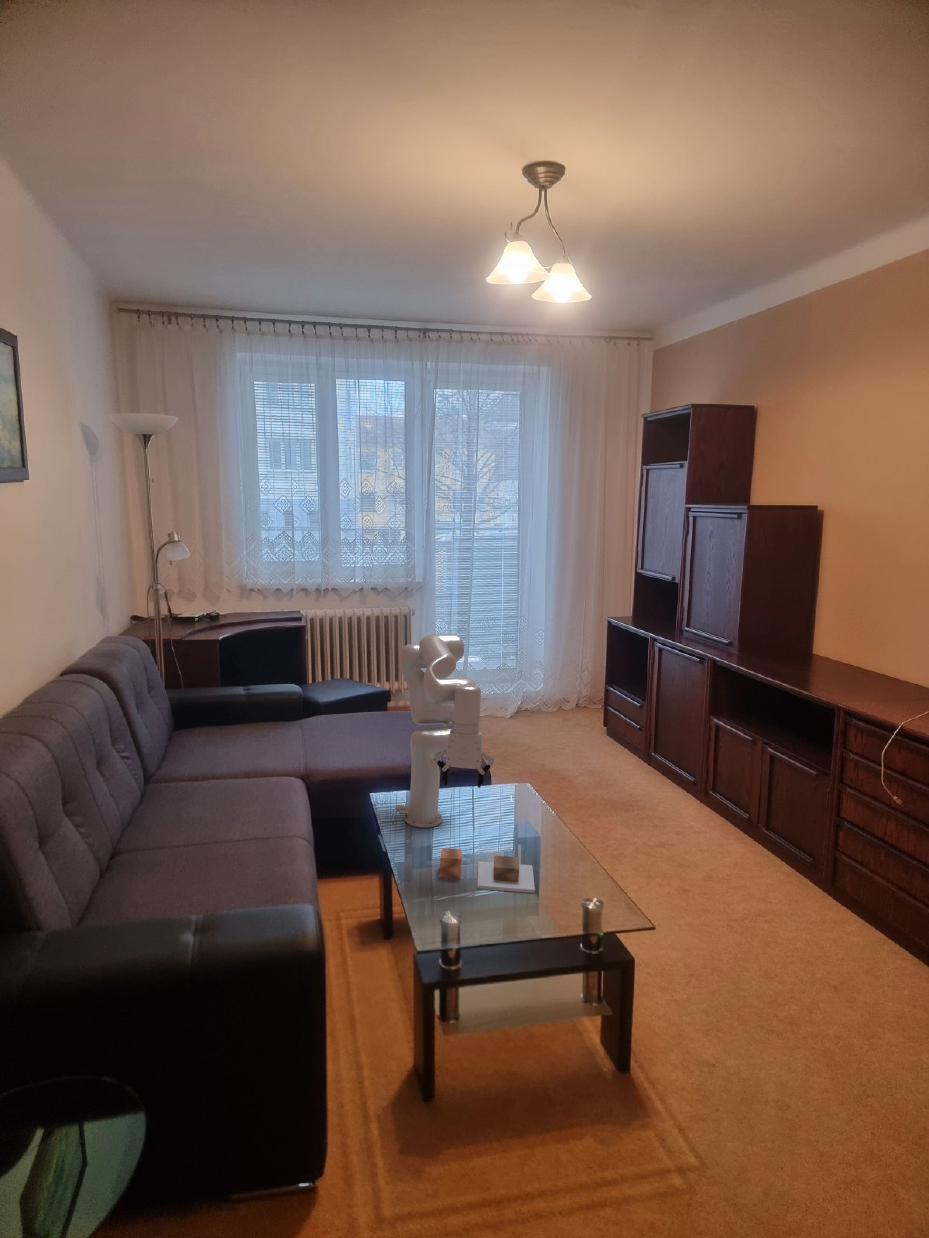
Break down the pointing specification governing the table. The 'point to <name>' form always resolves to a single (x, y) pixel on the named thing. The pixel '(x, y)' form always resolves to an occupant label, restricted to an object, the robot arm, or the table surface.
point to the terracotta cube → (450, 863)
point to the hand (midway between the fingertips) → (462, 784)
